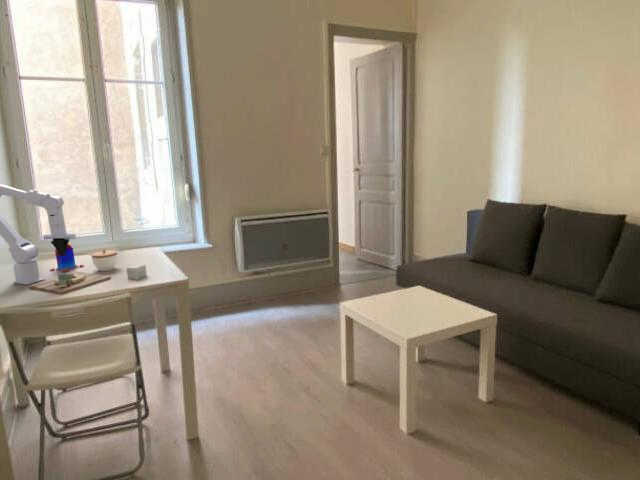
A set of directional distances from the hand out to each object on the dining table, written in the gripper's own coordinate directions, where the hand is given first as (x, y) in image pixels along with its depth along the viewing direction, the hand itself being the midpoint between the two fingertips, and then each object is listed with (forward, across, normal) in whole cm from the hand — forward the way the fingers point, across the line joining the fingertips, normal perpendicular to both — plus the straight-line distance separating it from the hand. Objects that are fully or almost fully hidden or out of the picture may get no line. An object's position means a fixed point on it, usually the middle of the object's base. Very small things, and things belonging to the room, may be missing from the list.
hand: (62, 255), depth 195 cm
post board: (+10, +6, -5) cm, 13 cm away
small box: (+11, +30, +6) cm, 33 cm away
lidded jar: (+11, +7, +16) cm, 21 cm away
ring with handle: (+9, +7, -7) cm, 14 cm away
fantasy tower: (+11, -14, +16) cm, 24 cm away
